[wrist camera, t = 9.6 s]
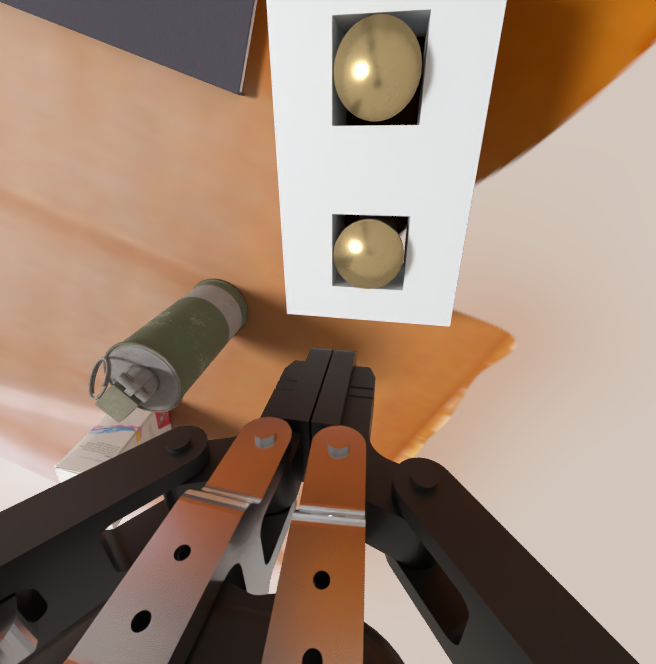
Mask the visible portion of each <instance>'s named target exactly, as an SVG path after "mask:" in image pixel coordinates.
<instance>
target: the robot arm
mask: <svg viewBox="0 0 656 664" xmlns="http://www.w3.org/2000/svg"><path fill="white" fill-rule="evenodd" d="M374 392H375V376H374V374H373V372H372V370H371V368H369V367H358V366H356V351H347V350H336V349H335V350H333V349H324V348H313V347H312V348H311V350H310V352H309V355H308V357H307V359H306V361H296V360H295V361H294V362H293V363H291V364H290V365H289V366H288V367H286V368H285V369H284V371H283V373H282V375H281V377H280V381H278V383H277V385H276V389H274V391H273V393H272V395H271V397H270V399H269V401H268V403H267V405H266V407H265V409H264V411H263V413H262V415H261V417H260V418H258V419H255V420H253V421H251V422H249V423H248V424H246V425H245V426H244V427H243V429H242V430H241V431H240V433H239V434H238V436H235V437H231V438H224V439H216V440H208V439H207V435H206V433H205V432H204V431H203V430H202V429H200V428H198V427H194V426H182V427H177V428H174V429H171V430H169V431H167V432H165V433H163V434H161V435H159V436H157V437H155V438H152V439H150V440H148V441H146V442H144V443H142V444H140V445H138V446H136V447H134V448H132V449H130V450H128V451H126V452H123V453H121V454H119V455H117V456H115V457H113V458H111V459H109V460H107V461H105V462H103V463H101V464H99V465H97V466H94V467H92V468H90V469H88V470H86V471H84V472H82V473H80V474H78V475H76V476H74V477H72V478H70V479H68V480H66V481H63V482H61V483H59V484H57V485H55V486H53V487H51V488H49V489H47V490H45V491H43V492H41V493H39V494H37V495H34V496H32V497H30V498H28V499H26V500H24V501H22V502H20V503H18V504H16V505H14V506H12V507H10V508H8V509H6V510H3V511H1V512H0V664H404V663H403V661H402V659H401V658H400V656H399V655H398V653H397V652H396V651H395V650H394V649H393V647H392V646H391V645H390V644H389V643H388V641H387V640H385V639H384V638H383V637H382V636H381V635H380V634H379V633H378V632H377V631H376V630H375V629H373V628H372V627H371V626H369V625H368V624H366V623H365V622H364V578H365V543H366V544H369V545H370V546H372V547H374V548H376V549H377V550H379V551H381V552H383V553H385V556H386V559H387V562H388V563H389V565H390V567H391V568H392V570H393V572H394V573H395V575H396V576H397V578H398V579H399V581H400V582H401V584H402V586H403V587H404V589H405V590H406V592H407V593H408V595H409V596H410V598H411V600H412V601H413V603H414V604H415V606H416V607H417V609H418V611H419V612H420V614H421V615H422V617H423V618H424V620H425V621H426V623H427V625H428V626H429V627H430V629H431V631H432V632H433V634H434V635H435V637H436V639H437V640H438V642H439V643H440V645H441V646H442V648H443V649H444V651H445V653H446V654H447V656H448V657H449V659H450V660H451V662H452V663H453V664H639V663H638V662H637V661H636V660H635V659H634V658H633V657H632V656H631V655H630V654H629V653H628V652H627V651H626V650H625V649H624V648H623V647H622V646H621V645H620V644H619V643H618V642H617V641H616V640H615V639H614V638H613V637H612V636H611V635H610V634H609V633H608V632H607V631H606V630H605V629H604V628H603V627H602V625H600V623H599V622H597V621H596V619H594V618H593V616H592V615H591V614H590V613H588V611H587V610H586V609H585V608H584V607H583V606H582V605H581V604H580V603H579V602H578V601H577V600H576V599H575V598H574V597H573V596H572V595H571V594H570V593H569V592H568V591H567V590H566V589H565V588H564V587H563V586H562V585H561V584H560V583H559V582H558V581H557V580H556V579H555V578H554V577H553V576H552V575H550V573H549V572H548V571H547V570H546V569H545V568H544V567H543V566H542V565H541V564H540V563H539V562H538V561H537V560H536V559H535V558H534V557H533V556H532V555H531V554H530V553H529V552H528V551H527V550H526V549H525V548H524V547H523V546H522V545H521V544H520V543H519V542H518V541H517V540H516V539H515V538H514V537H513V536H512V535H511V534H510V533H509V532H508V531H507V530H506V529H505V528H504V527H503V526H502V525H501V524H500V523H499V522H498V521H497V520H496V519H495V518H494V517H493V516H492V515H491V514H490V513H489V512H488V511H487V510H486V509H485V508H484V507H483V506H482V505H481V504H480V503H479V502H478V501H477V500H476V499H475V498H474V497H473V496H472V495H471V494H470V493H469V492H468V491H467V490H466V489H465V488H464V487H463V486H462V485H461V483H459V482H458V480H457V479H455V477H454V476H452V474H451V473H449V471H448V470H446V469H445V468H444V467H443V466H442V465H440V464H439V463H436V462H435V461H432V460H429V459H425V458H410V459H407V460H404V461H403V462H401V463H400V464H398V463H396V462H393V461H391V460H389V459H387V458H385V457H383V456H382V455H380V454H379V453H378V452H377V451H376V450H375V449H374V448H373V446H372V445H371V443H370V435H371V427H372V418H373V406H374ZM301 482H304V484H303V490H302V495H301V500H300V505H299V508H298V510H295V509H296V506H297V495H298V492H299V488H300V485H301ZM161 495H163V496H164V500H163V501H161V502H159V503H157V504H156V505H154V506H152V507H151V508H149V509H147V510H146V511H144V512H142V513H140V514H139V515H137V516H135V517H134V518H132V519H130V520H129V521H127V522H125V523H124V524H122V525H120V526H118V527H116V528H114V529H111V530H105V529H106V528H108V527H109V526H110V525H111V524H113V523H114V522H116V521H118V520H120V519H121V518H123V517H125V516H126V515H128V514H130V513H132V512H133V511H135V510H137V509H139V508H140V507H142V506H144V505H145V504H147V503H149V502H151V501H152V500H154V499H156V498H158V497H159V496H161ZM290 523H291V524H290ZM289 525H290V529H289V533H288V538H287V543H286V548H285V553H284V557H283V562H282V567H281V572H280V577H279V581H278V586H277V591H276V593H275V594H268V592H269V584H270V579H271V575H272V571H273V568H274V566H275V563H276V560H277V558H278V555H279V552H280V549H281V547H282V544H283V541H284V539H285V536H286V533H287V531H288V528H289Z"/></svg>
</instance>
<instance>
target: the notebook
mask: <svg viewBox="0 0 656 664" xmlns="http://www.w3.org/2000/svg"><path fill="white" fill-rule="evenodd" d="M0 2H2V3H5V4H7V5H10V6H12V7H15V8H17V9H20V10H22V11H25V12H28V13H30V14H33V15H35V16H38V17H40V18H43V19H46V20H48V21H51V22H53V23H56V24H58V25H61V26H63V27H66V28H69V29H71V30H74V31H76V32H79V33H81V34H84V35H87V36H89V37H92V38H94V39H97V40H99V41H102V42H104V43H107V44H110V45H112V46H115V47H117V48H120V49H122V50H125V51H127V52H130V53H133V54H135V55H138V56H140V57H143V58H145V59H148V60H151V61H153V62H156V63H158V64H161V65H163V66H166V67H168V68H171V69H174V70H176V71H179V72H181V73H184V74H186V75H189V76H192V77H194V78H197V79H199V80H202V81H204V82H207V83H209V84H212V85H215V86H217V87H220V88H222V89H225V90H227V91H230V92H233V93H235V94H238V95H242V96H244V94H243V93H242V88H243V82H244V76H245V70H246V64H247V58H248V53H249V47H250V41H251V35H252V29H253V23H254V17H255V11H256V6H257V0H0Z"/></svg>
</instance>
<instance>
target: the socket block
mask: <svg viewBox="0 0 656 664" xmlns="http://www.w3.org/2000/svg"><path fill="white" fill-rule="evenodd" d="M506 2H507V0H266V3H267V18H268V33H269V48H270V63H271V78H272V93H273V108H274V123H275V138H276V153H277V168H278V183H279V199H280V214H281V229H282V244H283V259H284V274H285V289H286V304H287V314H296V315H309V316H322V317H335V318H348V319H361V320H374V321H387V322H400V323H413V324H426V325H438V326H450V322H451V316H452V310H453V305H454V299H455V293H456V288H457V282H458V276H459V269H460V264H461V259H462V253H463V248H464V242H465V235H466V231H467V225H468V219H469V213H470V207H471V202H472V196H473V191H474V185H475V179H476V173H477V168H478V162H479V156H480V151H481V145H482V139H483V133H484V128H485V122H486V116H487V111H488V105H489V99H490V93H491V88H492V82H493V76H494V71H495V65H496V59H497V53H498V48H499V42H500V36H501V31H502V25H503V19H504V13H505V8H506ZM376 14H387V15H392V16H395V17H397V18H399V19H401V20H402V21H403V22H405V23H406V24H407V25H408V26H409V27H410V28H411V30H412V31H413V33H414V34H415V36H416V37H425V46H424V56H423V66H422V77H421V87H420V97H419V108H418V118H417V125H368V126H346V118H347V108H346V107H345V106H344V105H343V103H342V102H341V100H340V98H339V96H338V93H337V90H336V87H335V81H334V63H335V57H336V54H337V50H338V48H339V45H340V43H341V41H342V39H343V38H344V36H345V35H346V33H347V32H348V31H349V30H350V29H351V28H352V27H353V26H354V25H355V24H356V23H357V22H359V21H360V20H362V19H364V18H366V17H368V16H371V15H376ZM345 214H347V215H380V216H408V221H407V231H406V242H405V252H404V263H403V264H402V266H401V269H400V271H399V272H398V274H397V275H396V277H395V278H394V279H393V280H392V281H390V282H389V283H388V284H386V285H384V286H382V287H379V288H374V289H363V288H358V287H356V286H353V285H351V284H350V283H348V282H347V281H346V280H344V279H343V278H342V276H341V275H340V274H339V272H338V271H337V269H336V266H335V263H334V255H333V254H334V246H335V243H336V241H337V239H338V237H339V235H340V234H341V232H342V231H343V230H344V229H345Z"/></svg>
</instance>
